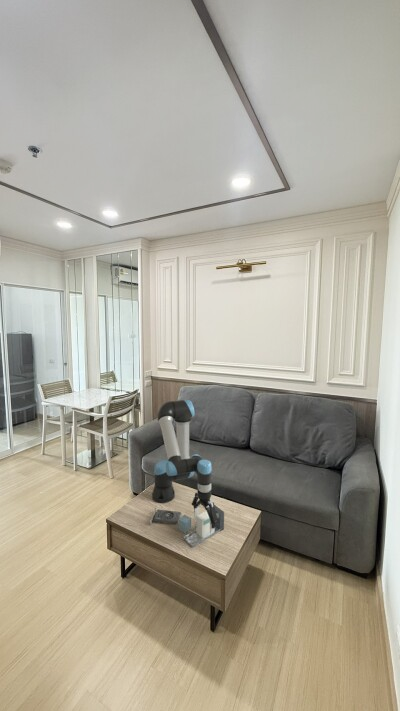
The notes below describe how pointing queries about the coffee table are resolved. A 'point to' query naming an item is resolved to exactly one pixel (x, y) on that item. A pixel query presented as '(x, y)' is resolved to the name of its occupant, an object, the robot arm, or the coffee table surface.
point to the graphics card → (165, 516)
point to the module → (203, 524)
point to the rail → (195, 539)
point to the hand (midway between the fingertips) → (204, 525)
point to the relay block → (184, 523)
